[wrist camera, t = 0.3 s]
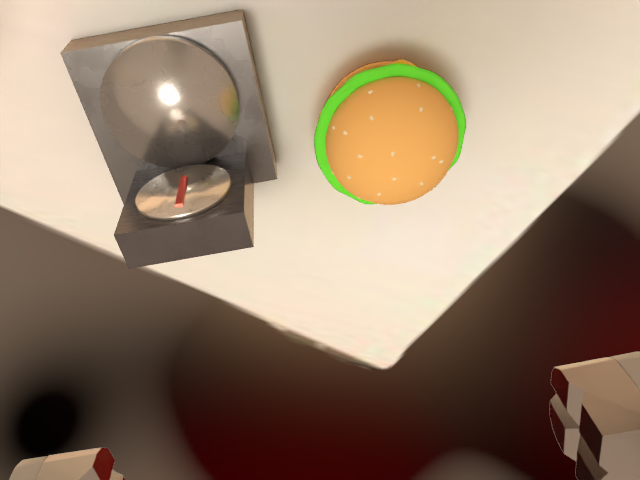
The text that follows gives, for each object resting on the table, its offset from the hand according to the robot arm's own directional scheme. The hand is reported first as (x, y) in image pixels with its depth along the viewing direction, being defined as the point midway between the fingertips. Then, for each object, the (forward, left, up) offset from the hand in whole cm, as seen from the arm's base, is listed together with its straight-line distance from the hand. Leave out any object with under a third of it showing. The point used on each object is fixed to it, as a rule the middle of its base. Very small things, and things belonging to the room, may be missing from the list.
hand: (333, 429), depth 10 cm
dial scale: (+8, -9, -39) cm, 41 cm away
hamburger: (+12, +7, -39) cm, 41 cm away
